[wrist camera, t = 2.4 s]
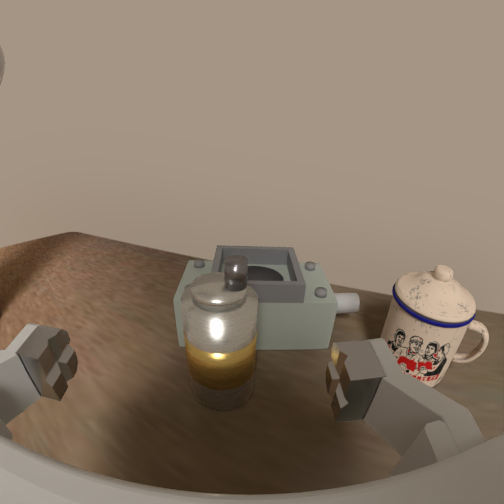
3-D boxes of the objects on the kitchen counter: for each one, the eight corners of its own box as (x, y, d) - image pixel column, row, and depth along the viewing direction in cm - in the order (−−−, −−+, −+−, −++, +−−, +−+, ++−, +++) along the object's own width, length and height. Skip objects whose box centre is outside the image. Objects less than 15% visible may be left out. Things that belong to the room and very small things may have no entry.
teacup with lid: (360, 376, 27) (392, 273, 22) (382, 330, 34) (407, 241, 29) (462, 410, 20) (519, 313, 16) (467, 357, 27) (504, 271, 23)
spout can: (187, 409, 23) (167, 277, 18) (195, 365, 28) (185, 242, 23) (254, 412, 23) (262, 280, 18) (253, 367, 28) (259, 244, 23)
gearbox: (179, 346, 30) (171, 281, 27) (191, 301, 39) (188, 244, 36) (361, 346, 31) (378, 284, 28) (341, 303, 39) (352, 249, 36)
